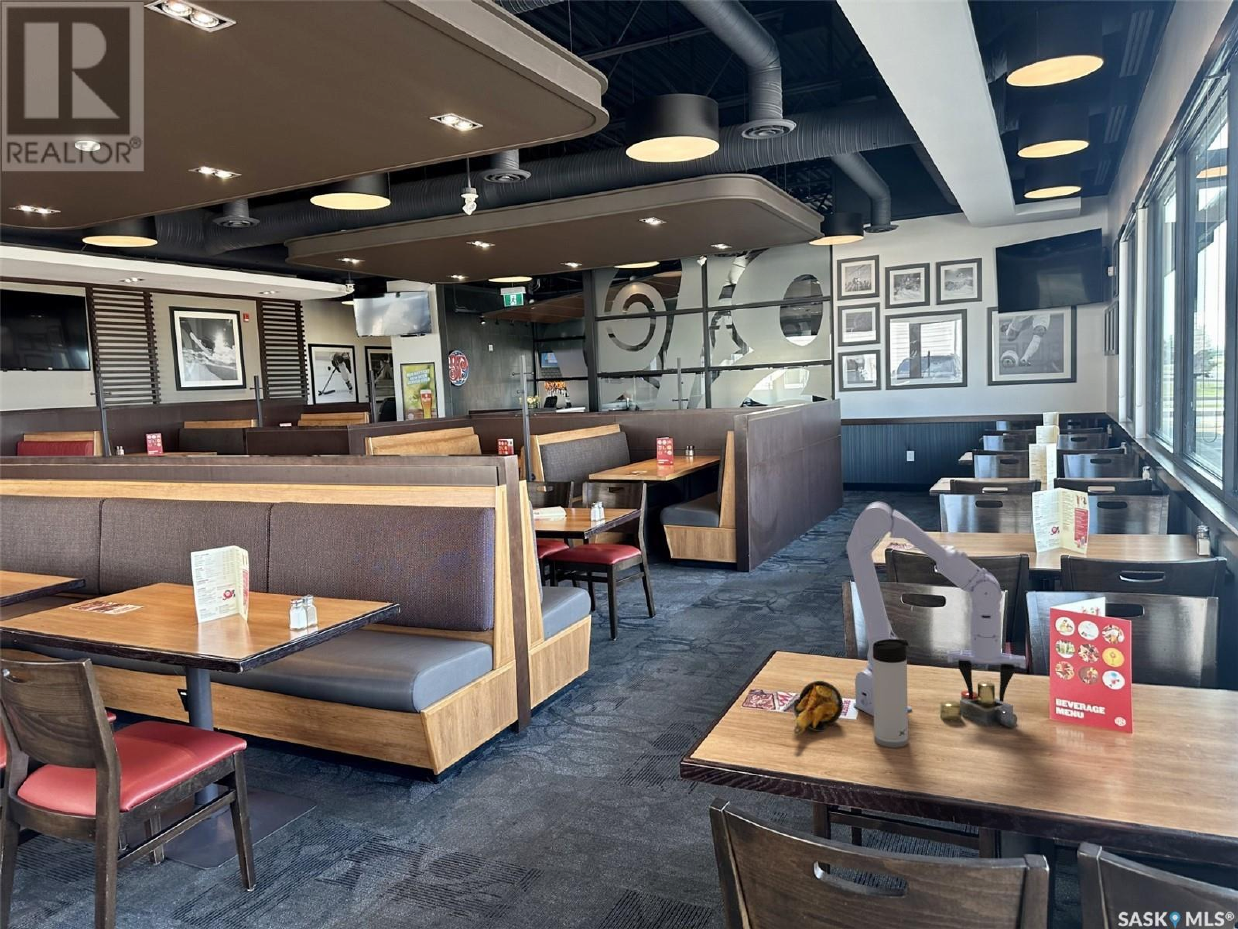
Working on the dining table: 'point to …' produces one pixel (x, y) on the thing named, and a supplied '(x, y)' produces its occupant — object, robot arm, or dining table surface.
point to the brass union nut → (950, 711)
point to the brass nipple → (986, 694)
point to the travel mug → (890, 693)
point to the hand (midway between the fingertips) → (986, 698)
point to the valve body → (987, 711)
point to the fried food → (817, 707)
